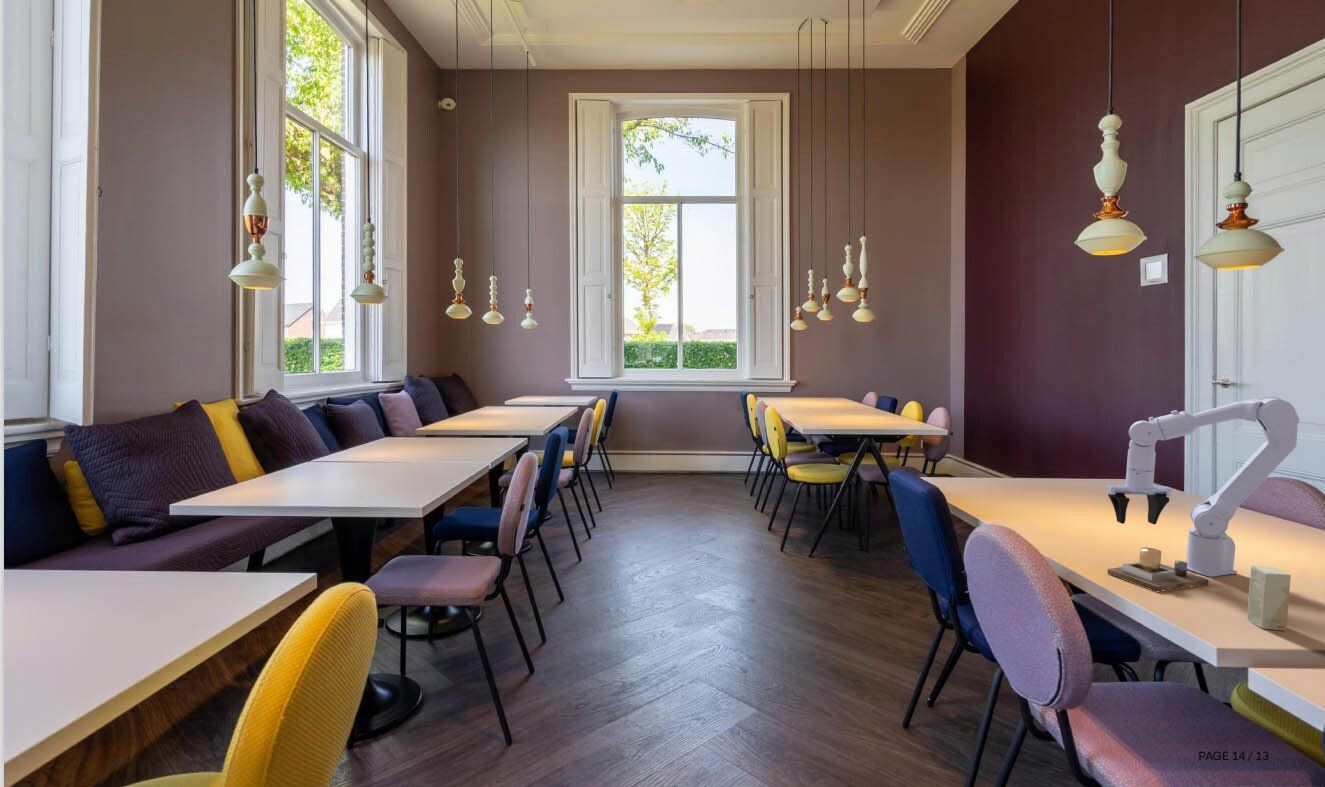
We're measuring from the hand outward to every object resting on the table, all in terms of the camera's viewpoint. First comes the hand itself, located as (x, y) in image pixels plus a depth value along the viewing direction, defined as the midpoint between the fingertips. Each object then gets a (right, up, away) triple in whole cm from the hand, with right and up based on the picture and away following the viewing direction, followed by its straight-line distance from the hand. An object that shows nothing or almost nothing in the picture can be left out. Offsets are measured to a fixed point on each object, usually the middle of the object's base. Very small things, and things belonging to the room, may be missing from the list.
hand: (1136, 522), depth 177 cm
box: (0, -13, -38) cm, 40 cm away
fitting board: (-4, -11, -13) cm, 17 cm away
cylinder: (-7, -10, -14) cm, 18 cm away
